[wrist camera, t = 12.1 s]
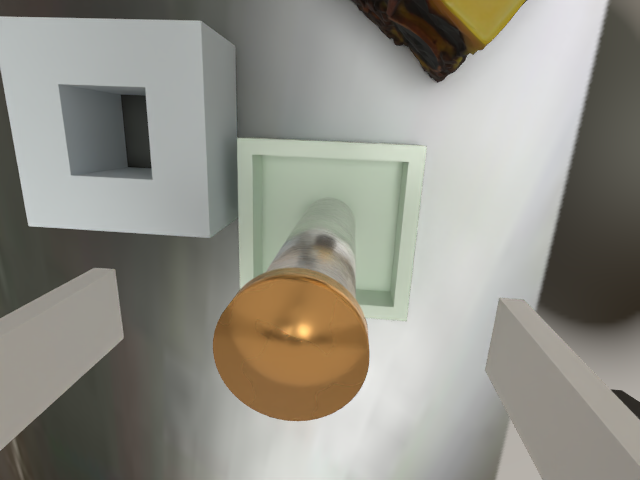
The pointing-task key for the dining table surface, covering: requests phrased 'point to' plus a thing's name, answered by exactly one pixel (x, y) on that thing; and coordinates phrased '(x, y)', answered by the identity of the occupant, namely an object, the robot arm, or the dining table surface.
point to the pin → (299, 323)
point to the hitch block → (122, 123)
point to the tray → (347, 186)
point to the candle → (441, 27)
